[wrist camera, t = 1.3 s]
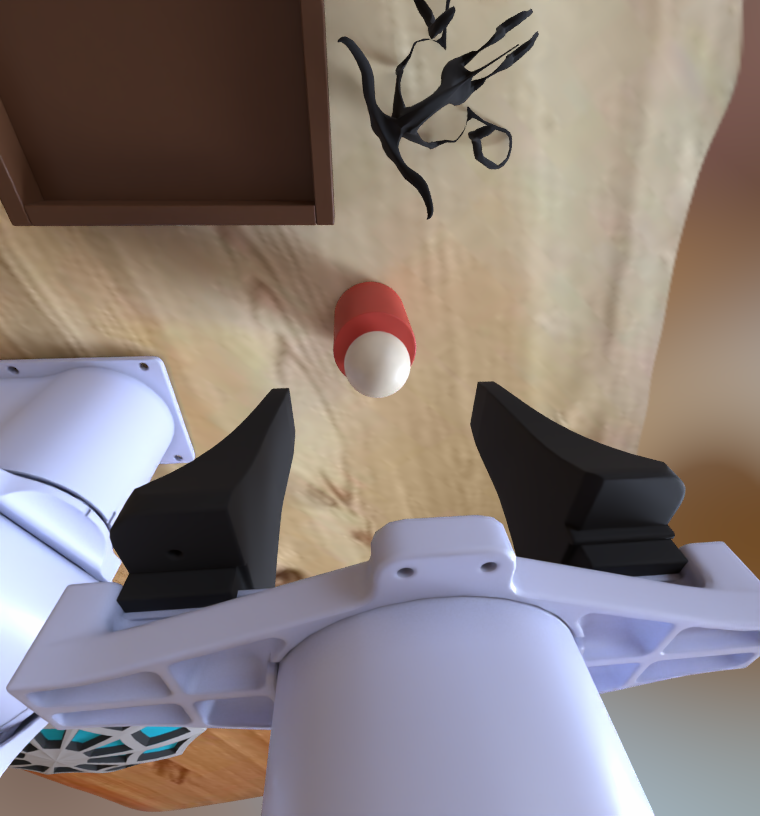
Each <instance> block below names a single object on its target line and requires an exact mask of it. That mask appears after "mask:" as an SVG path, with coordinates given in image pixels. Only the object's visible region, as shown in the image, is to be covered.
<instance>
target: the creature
mask: <svg viewBox="0 0 760 816" xmlns="http://www.w3.org/2000/svg"><path fill="white" fill-rule="evenodd" d="M414 2H415V4H416V7H417V9H418V11H419V13H420V14H421V16H422V17H423V19H424V21H425V23H426V25H427V26H428V32H429V36H430V38H431V39H433V38H435V37H436V35H438V34H440V33H441V32H442V31H443V33H442V37H441V38H440V39H438V40H437V41H435V40H433V41H435V42H437V43H439V44H440V45H441V46H442V47H443V48H444V49H445V50H446V27H447V26H448V24H449V23H450V21H451V20H452V18H453V16H454V13H455V7H454V6H453V7H451V8H449V4H450V0H447V1H446V11H445V12H444V13H442V14H441V15H440V16H439V17H438V18H437V19H436V20H435V17H434V15H433V13H432V10H431V9H430V8H429V6H428V5H427V3H426V2H425V1H424V0H414ZM532 13H533V11H532V9H530V10H529V11H522V12H520V13H518V14H517V15H515V16H513V17H511V18H509V19H508V20H506V21H505V22H503V23H502V24H501V25H499V26H498V27H497V28H496V33H495V34H494V35H493V36H492V37H491V39H490V40H489V41H488V42H487V43H486V44H485V45H484V46H482V47H481V48H480V49H479V50H478V51H471V52H469V53H467V54H465V55H462V56H460V57H458V58H455V59H453V60H451V61H449V62H448V63H447V64H446V65H445V67H444V69H443V71H442V74H441V79H442V80H441V85H440V86H439V88H438V89H437V90H436V91H435V92H434V93H433V94H432V95H431V96H429V97H428V98H426V99H425V100H423V101H421V102H419V103H417V104H415V105H413V106H411V107H405V104H404V102H403V99H402V96H401V89H400V82H401V78H402V74H403V69H404V67H405V66H406V64H407V62H408V61H409V59H410V57H411V54H412V51H413V48H414V46H415V44H416V43H417V42H420V41H425V40H431V39H422V40H419V41H416V42H414V44H413V46H412V49H411V51H410V54H409V55H408V56H407V57H406V59H405V60H404V61H403V62H402V63H401V64H399V65H398V66H397V68H396V75H397V79H396V87H395V95H394V102H393V113H392V116H391V117H390V116H388V115H386V114H384V113H383V112H382V111H381V110H380V108H379V107H378V105H377V104H376V100H375V89H374V76H373V72H372V69H371V66H370V64H369V61H368V60H367V58H366V57H365V55H364V54H363V52H362V51H361V50H360V48H359V47H358V46H357V45H356V44H355V43H354V41H353V40H351V39H349V38H348V37H341V38H340V39H339V40H338V42H342V43H344V44H345V45H346V46H347V47H348V48H349V50H350V51H351V53H352V54H353V56H354V58H355V60H356V61H357V64H358V66H359V68H360V71H361V74H362V85H363V94H364V98H365V101H366V104H367V107H368V111H369V115H370V121H371V127H372V129H373V131H374V133H375V134H376V135H377V136H378V137H379V139H380V141H381V143H382V147H383V150H384V151H385V153H386V155H387V156H388V157H389V158H390V159H391V160H392V161H393V162H394V163H395V165H396V166H397V168H398V170H399V171H400V173H401V174H402V176H403V177H404V178H405V179H406V180H407V181H408V182H410V183H411V184H412V185H413V186H414V187H415V188H416V189H417V190H418V191H419V193H420V194H421V196H422V198H423V200H424V202H425V205H426V207H427V213H428V217H427V219H430V218H431V217H432V215H433V203H432V199H431V195H430V191H429V188H428V185H427V183H426V182H425V180H424V179H423V178H422V177H421V176H420V175H419V174H418V173H416V172H415V171H413V170H412V169H410V168H409V167H408V166H407V165H406V164H405V163H404V161H403V159H402V157H401V155H400V152H399V148H398V146H399V141H400V139H401V137H404V138H406V139H408V140H410V141H412V142H415V143H418V144H420V145H422V146H425V147H429V148H430V149H433V148H435V147H437V146H439V145H441V144H444V143H446V142H456V141H457V140H458V139H459V138H460V136H461V135H462V134H463V132H464V131H463V132H462V133H461V135H460V136H459V137H458V139H457V140H454V141H450V140H442V141H436V142H430V143H428V142H424V141H423V140H422V139H421V138H420V136H419V134H418V133H417V130H418V129H419V127H420V126H421V125H422V124H423V123H424V122H425V121H426V120H427V119H429V118H430V117H431V116H432V115H433V114H434V113H436V112H437V111H438V110H440V109H441V108H442V107H444V106H445V105H447V104H453V105H454V106H455V105H460V104H462V103H464V102H465V101H466V100H467V99H468V98H469V96H470V95H471V94H472V93H473V92H474V91H475V90H477V89H478V88H480V87H481V86H482V85H483V84H484V82H485V80H486V79H487V78H489V77H490V76H492V75H494V74H496V73H497V72H500V71H502V70H505V69H507V68H508V67H510V66H511V65H512V64H514V63H515V62H516V61H517V60H519V59H520V58H521V57H522V56H523V55H524V54H525V53H526V52H527V51H529V50H530V49H531V48H532V46H533V45H534V42H535V40H536V38H537V37H538V35H539V34H538V31H537V32H536V33H535V34H534V35H533V37H532V38H531V39H530V40H529V41H527V42H525V43H524V44H522V45H521V46H520V47H518V48H517V49H516V50H515V51H513V52H512V53H511V54H508V55H507V56H506V59H505V60H504V61H503V63H502V64H501V65H500V66H499V67H498V68H497V69H496V70H495V71H494V72H493V73H491V74H490V75H488V76H487V77H484V78H481V79H478V80H473V81H471V80H472V78H473V76H475V75H476V74H477V73H479V72H480V71H481V70H483V69H484V68H486V67H487V66H489V65H490V64H492V63H493V62H495V61H496V60H498V59H499V58H501V57H502V56H504V55H505V54H507V53H508V52H509V51H511V50H512V49H514V48H515V47H517V46H518V45H519V44H518V45H516V46H515V47H513V48H512V49H510V50H509V51H507V52H506V53H504V54H503V55H501V56H500V57H498V58H496V59H495V60H493V61H492V62H490V63H489V64H487V65H485V66H484V67H482V68H480V69H477V70H475V71H472V72H471V71H468V70H467V69H465V68H464V66H465V65H466V64H468V63H469V62H470V61H471V60H472V59H473V58H474V57H475V56H476V55H477V54H478V53H479V52H480V51H481V50H483V49H484V48H486V47H488V46H490V45H492V44H494V43H496V42H497V41H499V40H500V39H502V38H503V37H504V36H505V34H506V33H507V32H508V31H510V30H511V29H513V28H514V27H516V26H517V25H519V24H520V23H521V22H522V21H523V20H525V19H526V18H527V17H529V16H530V15H531V14H532ZM471 118H475V119H477V120H479V121H481V122H482V123H484V124H486V125H487V126H483V127H481V128H478V129H476V130H475V131H471V132H469V133H468V136H469V138H470V139H471V140H472V144H473V151H474V156H475V159H476V160H478V161H479V162H480V163H482V164H483V165H485V166H486V167H487V168H489V169H499V168H501V167H502V166H504V165H505V163H506V162H507V161H508V159H509V156H510V153H511V148H512V136H511V134H510V132H509V131H508V130H506V129H504V128H501V127H498V126H496V125H493V124H491V123H488V122H486V121H484V120H483V119H481V118H480V117H479V116H478V115H476V114H475V113H474V112H473V111H472V110H471V109H470V108H469V107H467V121H469V120H470V119H471ZM466 124H467V122H466ZM465 127H466V126H465ZM495 129H496V130H499V131H502V132H505V133H506V134H507V135H508V137H509V140H510V143H509V152H508V155H507V158H506V159H505V160H504V161H503V162H502V163H501V164H500V165H496V164H495V163H493V162H492V161H490V160H488V159H487V158H485V157H484V156H483V153H482V145H481V140H480V139H482V138H483V137H486V136H488V135H489V134H491V133H492V132H493V131H494V130H495ZM464 130H465V128H464Z"/></svg>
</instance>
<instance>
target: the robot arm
mask: <svg viewBox="0 0 760 816" xmlns="http://www.w3.org/2000/svg"><path fill="white" fill-rule="evenodd" d="M141 363H145V364H147V365H148V367H144V366H143V365H142V364H141ZM13 367H15V368H16V369H17V370H18V371H17V370H15V369H14V368H13ZM470 425H471V429H472V433H473V437H474V440H475V443H476V446H477V449H478V451H479V453H480V456H481V458H482V460H483V462H484V465H485V467H486V469H487V471H488V473H489V476H490V478H491V480H492V482H493V484H494V487H495V489H496V491H497V494H498V496H499V499H500V502H501V505H502V508H503V511H504V514H505V517H506V521H507V524H508V528H509V531H510V534H511V538H512V541H513V545H514V549H515V553H516V556H515V554H514V551H513V549H512V546H511V544H510V541H509V539H508V537H507V534H506V532H505V529H504V527H503V524H501V523H500V522H499V521H497V520H496V519H495V518H493V517H488V516H480V515H466V516H449V517H432V518H414V519H402V520H398V521H394V522H389V523H388V524H386V525H385V526H383V527H382V528H381V529H379V530H378V531H376V532H375V534H374V537H373V539H372V542H371V556H370V560H369V561H366V562H362V563H359V564H355V565H352V566H348V567H345V568H341V569H338V570H334V571H331V572H327V573H324V574H320V575H316V576H313V577H309V578H306V579H302V580H299V581H295V582H292V583H288V584H285V585H281V586H278V587H275V579H276V565H277V553H278V541H279V531H280V521H281V511H282V505H283V500H284V495H285V491H286V486H287V482H288V477H289V473H290V468H291V463H292V459H293V454H294V442H295V426H294V419H293V412H292V405H291V398H290V391H289V388H280V389H272V390H271V391H270V392H269V393H268V394H267V395H266V397H265V398H264V399H263V400H262V401H261V402H260V404H259V405H258V406H257V407H256V408H255V409H254V410H253V411H252V413H251V414H250V415H249V416H248V417H247V418H246V419H245V420H244V421H243V422H242V423H241V424H240V425H239V426H238V427H237V428H236V429H235V430H234V431H233V432H232V433H231V434H229V435H228V436H227V437H226V438H225V439H223V440H222V441H221V442H219V443H218V444H217V445H216V446H214V447H213V448H211V449H210V450H208V451H207V452H205V453H204V454H202V455H201V456H199V457H198V458H196V459H195V460H194V457H195V453H194V450H193V447H192V444H191V441H190V438H189V435H188V432H187V429H186V426H185V424H184V421H183V418H182V415H181V412H180V409H179V406H178V403H177V400H176V397H175V394H174V392H173V389H172V386H171V383H170V380H169V377H168V374H167V371H166V368H165V365H164V363H163V361H162V360H161V359H160V358H158V357H156V356H130V357H93V358H56V359H19V360H0V777H1V775H2V774H3V773H4V771H5V770H6V769H7V768H8V766H9V765H10V764H11V763H12V761H13V760H14V759H15V757H16V756H17V755H18V754H19V753H20V752H21V751H22V749H23V748H24V747H25V746H26V745H27V744H28V743H29V742H30V741H31V740H32V739H33V738H34V737H35V736H36V735H37V734H38V733H39V732H40V731H41V730H42V729H43V728H44V727H45V726H46V725H47V724H48V723H49V724H50V725H52V726H53V727H54V728H56V729H57V730H68V729H82V728H96V727H126V726H149V727H193V728H227V729H260V730H271V736H270V744H269V753H268V762H267V770H266V779H265V787H264V796H263V805H262V813H261V816H655V815H654V813H653V811H652V809H651V807H650V804H649V802H648V800H647V798H646V796H645V793H644V791H643V789H642V787H641V785H640V782H639V780H638V778H637V776H636V774H635V772H634V769H633V767H632V765H631V763H630V761H629V759H628V756H627V754H626V752H625V750H624V748H623V745H622V743H621V741H620V739H619V737H618V734H617V732H616V730H615V728H614V726H613V724H612V721H611V719H610V717H609V715H608V713H607V710H606V708H605V706H604V704H603V702H602V699H601V697H600V695H599V694H602V693H606V692H611V691H615V690H620V689H625V688H629V687H634V686H639V685H643V684H648V683H652V682H657V681H662V680H666V679H672V678H677V677H682V676H687V675H693V674H700V673H706V672H713V671H721V670H729V669H739V668H745V667H747V666H748V665H749V664H751V663H752V662H753V661H754V660H755V659H757V658H758V657H759V656H760V581H759V580H758V579H757V577H756V576H755V575H754V574H753V573H752V572H751V571H750V570H749V569H748V568H747V567H746V566H745V564H743V562H742V561H741V560H740V559H739V558H738V557H737V556H736V555H735V554H734V553H733V552H732V550H731V549H730V548H729V547H728V546H727V545H726V544H725V543H724V542H707V543H691V544H686V545H684V546H682V547H680V548H679V549H678V548H677V546H676V545H675V544H674V543H673V541H672V540H671V539H673V538H674V536H675V534H674V532H673V531H672V529H671V528H670V527H669V526H668V525H667V524H668V523H669V521H670V520H671V518H672V517H673V515H674V514H675V512H676V511H677V509H678V508H679V506H680V505H681V502H682V501H683V499H684V496H685V486H684V484H683V482H682V481H681V479H680V478H679V477H678V476H677V475H676V474H675V473H674V472H673V471H672V470H671V469H670V468H669V467H668V466H667V465H666V464H665V463H664V462H661V461H657V460H653V459H649V458H645V457H641V456H638V455H634V454H630V453H627V452H624V451H621V450H618V449H615V448H612V447H609V446H606V445H603V444H601V443H598V442H596V441H593V440H591V439H588V438H586V437H584V436H581V435H579V434H577V433H575V432H573V431H571V430H569V429H567V428H565V427H563V426H561V425H559V424H557V423H555V422H554V421H552V420H550V419H549V418H547V417H545V416H544V415H542V414H540V413H539V412H537V411H536V410H534V409H533V408H531V407H530V406H528V405H527V404H525V403H524V402H522V401H521V400H520V399H518V398H517V397H515V396H514V395H513V394H511V393H510V392H508V391H507V390H506V389H504V388H503V387H501V386H500V385H498V384H497V383H495V382H478V384H477V389H476V395H475V401H474V406H473V412H472V417H471V423H470ZM177 455H179V456H181V457H178V456H177ZM189 462H190V463H189ZM171 463H188V464H186V465H184V466H183V467H181V468H179V469H177V470H175V471H173V472H171V473H169V474H167V475H165V476H163V477H161V478H159V479H156V480H154V481H152V482H149V481H150V479H151V478H152V476H153V474H154V472H155V470H156V468H157V467H158V465H159V464H171ZM113 548H114V549H115V551H116V552H117V554H118V556H119V557H120V559H121V560H120V559H119V558H118V557H116V555H115V554H114V552H113V550H112V549H113ZM121 562H123V564H124V565H125V567H126V569H127V570H128V572H129V575H128V577H127V579H126V581H125V584H124V586H122V585H121V584H118V583H116V582H112V580H113V578H114V576H115V574H116V572H117V570H118V568H119V566H120V564H121Z"/></svg>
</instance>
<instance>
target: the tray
mask: <svg viewBox="0 0 760 816" xmlns="http://www.w3.org/2000/svg"><path fill="white" fill-rule="evenodd" d="M0 200H1V202H2V204H3V206H4V208H5V210H6V212H7V214H8V216H9V219H10V221H11V223H12V224H13V225H14V226H32V225H33V226H153V225H316V224H317V225H334V220H335V209H334V189H333V169H332V149H331V129H330V109H329V88H328V68H327V48H326V28H325V8H324V0H0Z"/></svg>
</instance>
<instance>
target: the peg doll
mask: <svg viewBox="0 0 760 816" xmlns="http://www.w3.org/2000/svg"><path fill="white" fill-rule="evenodd" d="M333 352H334V358H335V362H336V364H337V366H338V368H339V369H340V371H341V372H342V373H343V374H344V375H345V376H346V377H347V379H348V381H349V382H350V384H351V385H352V386H353V388H354V389H356V390H357V391H358V392H360V393H361V394H363V395H365V396H368V397H374V398H380V397H386V396H389V395H391V394H393V393H395V392H397V391H398V390H399V389H400V388H401V387H402V386H403V385H404V383H405V382H406V380H407V378H408V375H409V372H410V367H411V365H412V363H413V361H414V358H415V355H416V340H415V337H414V334H413V331H412V328H411V326H410V323H409V320H408V317H407V314H406V312H405V309H404V306H403V303H402V301H401V299H400V297H399V296H398V295H397V294H396V292H395V291H393V290H392V289H391V288H390V287H388V286H386V285H384V284H381V283H377V282H363V283H359V284H356V285H354V286H352V287H351V288H349V289H348V290H346V291H345V292H344V293H343V295H342V296H341V297H340V299H339V300H338V302H337V305H336V308H335V316H334V348H333Z"/></svg>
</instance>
